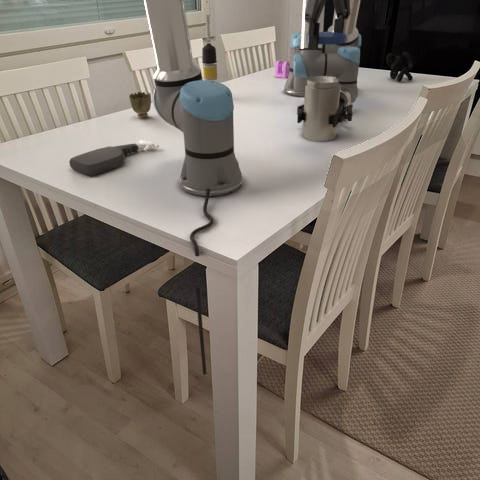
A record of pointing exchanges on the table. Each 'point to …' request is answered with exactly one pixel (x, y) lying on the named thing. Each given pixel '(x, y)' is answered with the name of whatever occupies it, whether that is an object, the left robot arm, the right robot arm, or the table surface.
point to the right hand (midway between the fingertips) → (316, 120)
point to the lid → (330, 38)
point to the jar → (320, 108)
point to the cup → (141, 103)
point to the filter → (209, 57)
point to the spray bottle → (106, 157)
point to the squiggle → (399, 66)
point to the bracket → (279, 69)
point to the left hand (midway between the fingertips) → (325, 46)
